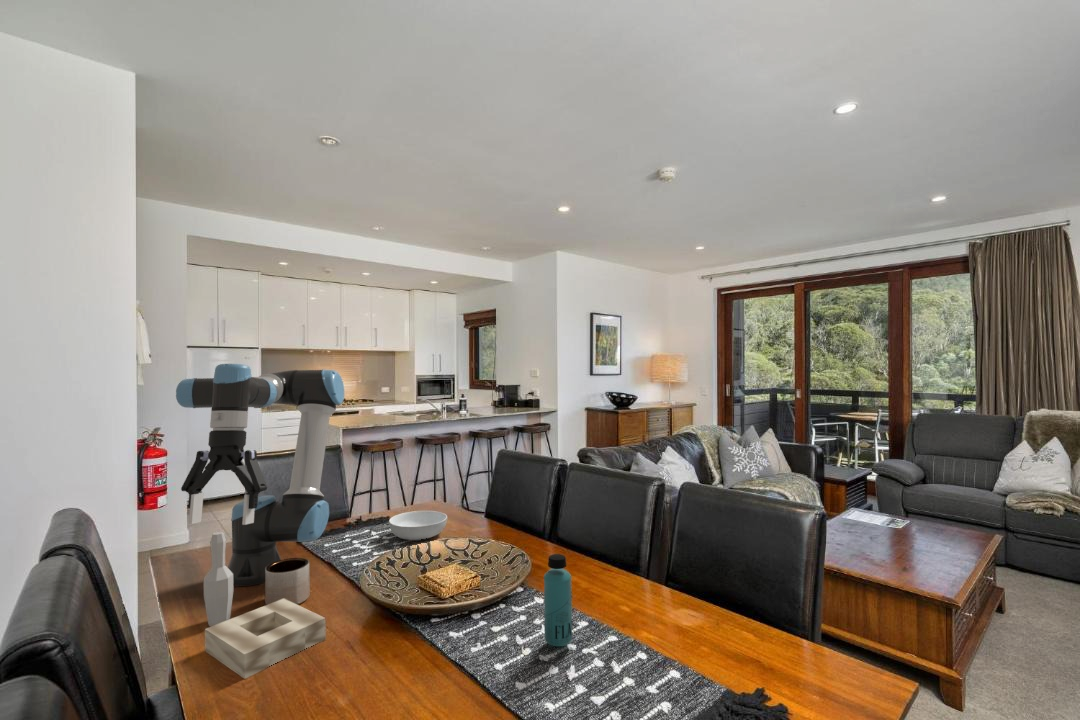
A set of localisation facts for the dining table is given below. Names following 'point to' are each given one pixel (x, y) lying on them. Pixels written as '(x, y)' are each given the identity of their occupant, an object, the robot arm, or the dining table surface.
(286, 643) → the socket block
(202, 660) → the dining table surface
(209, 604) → the low poly bottle
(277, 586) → the planter
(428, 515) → the serving bowl
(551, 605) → the beverage bottle
